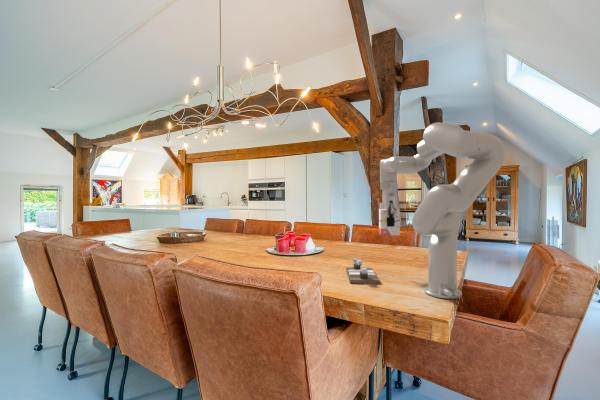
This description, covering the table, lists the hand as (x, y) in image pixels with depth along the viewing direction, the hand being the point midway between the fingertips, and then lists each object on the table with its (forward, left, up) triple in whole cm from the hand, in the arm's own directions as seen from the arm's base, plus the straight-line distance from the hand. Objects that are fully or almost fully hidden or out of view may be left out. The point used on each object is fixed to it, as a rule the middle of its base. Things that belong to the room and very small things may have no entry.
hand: (389, 225), depth 133 cm
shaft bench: (-4, +13, -23) cm, 26 cm away
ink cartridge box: (0, 0, -5) cm, 5 cm away
